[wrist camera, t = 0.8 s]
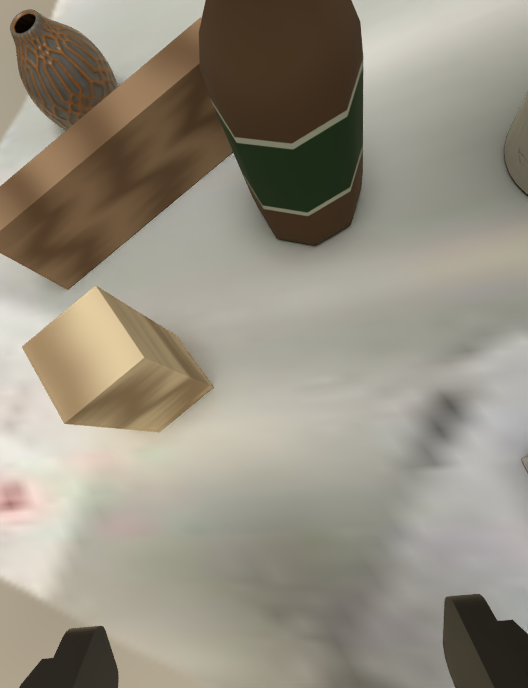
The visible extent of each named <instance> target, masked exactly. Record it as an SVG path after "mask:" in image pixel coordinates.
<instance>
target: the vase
mask: <svg viewBox="0 0 528 688" xmlns="http://www.w3.org/2000/svg"><path fill="white" fill-rule="evenodd" d="M10 31H11V34H12V36H13V39H14V42H15V45H16V53H17V62H18V69H19V73H20V76H21V79H22V82H23V84H24V86H25V88H26V90H27V92H28V94H29V96H30V97H31V99H32V100H33V102H34V103H35V104H36V105H37V107H38V108H39V109H40V110H41V111H42V112H43V113H44V114H45V115H46V116H47V117H48V118H49V119H50V120H52V121H53V122H54V123H56V124H57V125H59V126H61V127H62V128H64V129H66V130H68V129H69V128H70V127H71V126H72V125H74V124H75V123H76V122H77V121H78V120H80V119H81V118H82V117H83V116H84V115H85V114H87V113H88V112H89V111H90V110H91V109H93V108H94V107H95V106H96V105H97V104H98V103H100V102H101V101H102V100H103V99H104V98H106V97H107V96H108V95H109V94H110V93H112V92H113V91H114V90H115V89H116V88H117V87H118V86H117V83H116V79H115V77H114V74H113V72H112V69H111V68H110V66H109V64H108V62H107V61H106V59H105V57H104V56H103V55H102V53H101V52H100V51H99V49H98V48H97V47H96V46H95V45H94V44H93V43H92V42H91V41H90V40H89V39H88V38H87V37H85V36H84V35H83V34H82V33H80V32H79V31H77V30H75V29H74V28H72V27H69V26H67V25H64V24H61V23H58V22H56V21H52V20H50V19H47V18H46V17H44V16H42V15H41V14H39V13H38V12H36V11H35V10H25V11H22V12H21V13H19V14H18V15H17V16H16V17H15V18H14V19H13V21H12V23H11V26H10Z"/></svg>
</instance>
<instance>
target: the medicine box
mask: <svg viewBox="0 0 528 688" xmlns="http://www.w3.org/2000/svg"><path fill="white" fill-rule="evenodd" d="M522 462H523V464H524V466H525V468H526V470H527V471H528V457H524V458H522Z"/></svg>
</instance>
